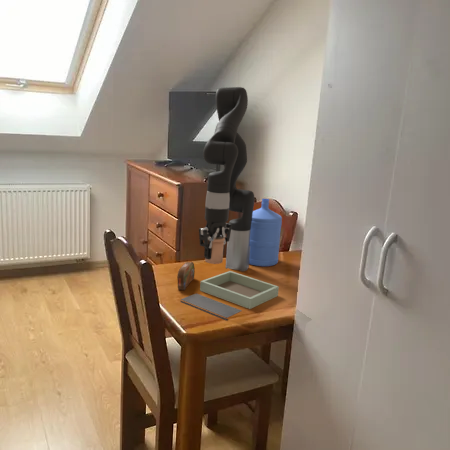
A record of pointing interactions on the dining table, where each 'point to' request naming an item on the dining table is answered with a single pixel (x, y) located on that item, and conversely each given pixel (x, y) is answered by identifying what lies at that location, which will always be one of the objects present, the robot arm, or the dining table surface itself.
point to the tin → (185, 275)
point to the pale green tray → (239, 289)
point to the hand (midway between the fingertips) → (213, 256)
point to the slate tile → (210, 306)
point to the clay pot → (216, 250)
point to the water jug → (265, 236)
